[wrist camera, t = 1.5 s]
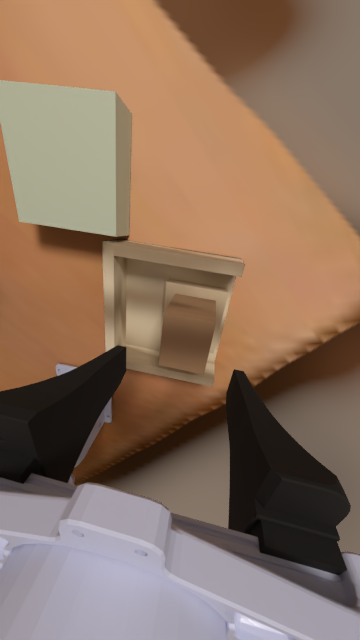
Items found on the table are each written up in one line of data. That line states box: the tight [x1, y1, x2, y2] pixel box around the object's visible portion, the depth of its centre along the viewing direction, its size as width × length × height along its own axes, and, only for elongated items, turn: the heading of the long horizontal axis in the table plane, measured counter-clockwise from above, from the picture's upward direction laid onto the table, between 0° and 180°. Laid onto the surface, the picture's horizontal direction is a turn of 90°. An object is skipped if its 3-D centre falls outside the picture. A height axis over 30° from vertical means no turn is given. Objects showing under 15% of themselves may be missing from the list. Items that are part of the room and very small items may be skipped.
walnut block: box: [159, 293, 216, 374], centre depth 19 cm, size 5×4×5 cm
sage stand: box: [0, 80, 132, 237], centre depth 17 cm, size 9×9×3 cm
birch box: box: [102, 239, 245, 387], centre depth 21 cm, size 13×12×4 cm
